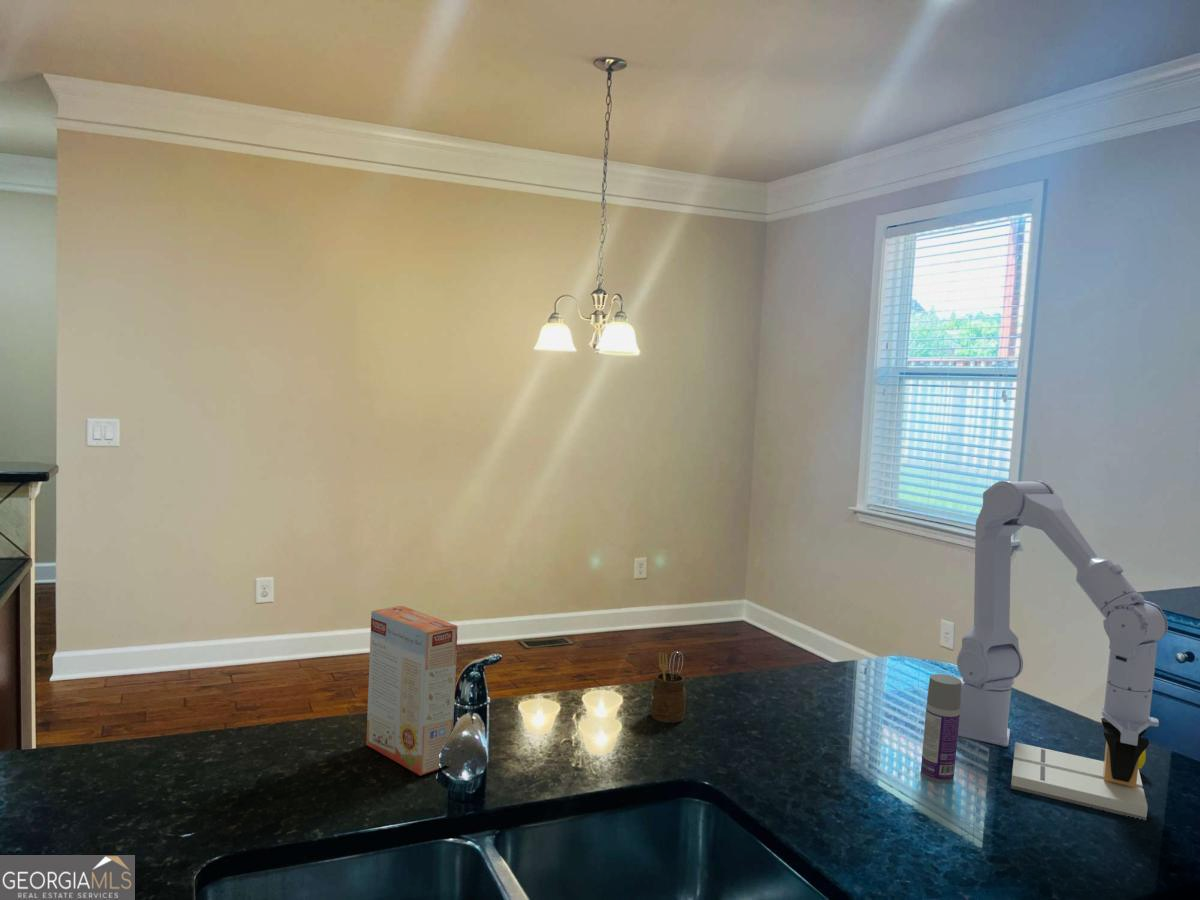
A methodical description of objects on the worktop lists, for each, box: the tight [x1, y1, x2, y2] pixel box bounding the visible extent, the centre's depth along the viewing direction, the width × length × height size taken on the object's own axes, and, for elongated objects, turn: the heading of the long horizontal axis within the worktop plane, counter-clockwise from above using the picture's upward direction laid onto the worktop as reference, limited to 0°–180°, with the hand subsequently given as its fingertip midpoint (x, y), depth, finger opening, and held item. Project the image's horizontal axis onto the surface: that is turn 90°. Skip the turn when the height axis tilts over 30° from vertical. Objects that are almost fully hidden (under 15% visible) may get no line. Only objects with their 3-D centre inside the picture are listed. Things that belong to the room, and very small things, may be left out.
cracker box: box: [365, 605, 459, 776], centre depth 126 cm, size 14×6×21 cm, turn 47°
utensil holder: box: [650, 650, 687, 724], centre depth 146 cm, size 6×6×12 cm
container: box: [920, 673, 962, 784], centre depth 129 cm, size 5×5×15 cm
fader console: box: [1010, 741, 1149, 821], centre depth 129 cm, size 17×14×2 cm
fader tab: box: [1103, 740, 1139, 787], centre depth 126 cm, size 4×3×7 cm
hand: (1119, 775), depth 126 cm, fingers closed on fader tab, 3 cm apart
